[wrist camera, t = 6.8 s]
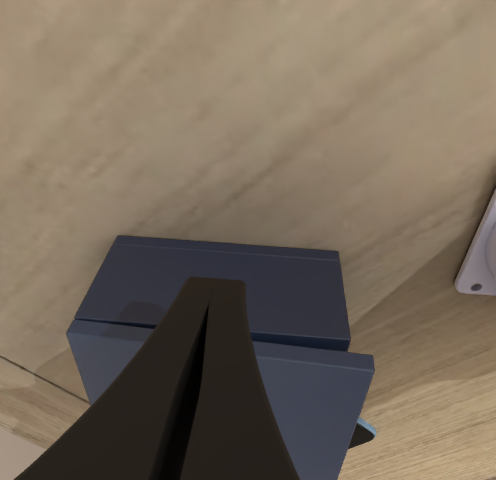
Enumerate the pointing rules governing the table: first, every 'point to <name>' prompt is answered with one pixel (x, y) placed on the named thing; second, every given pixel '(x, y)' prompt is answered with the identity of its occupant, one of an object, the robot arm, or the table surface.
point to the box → (225, 267)
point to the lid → (275, 382)
